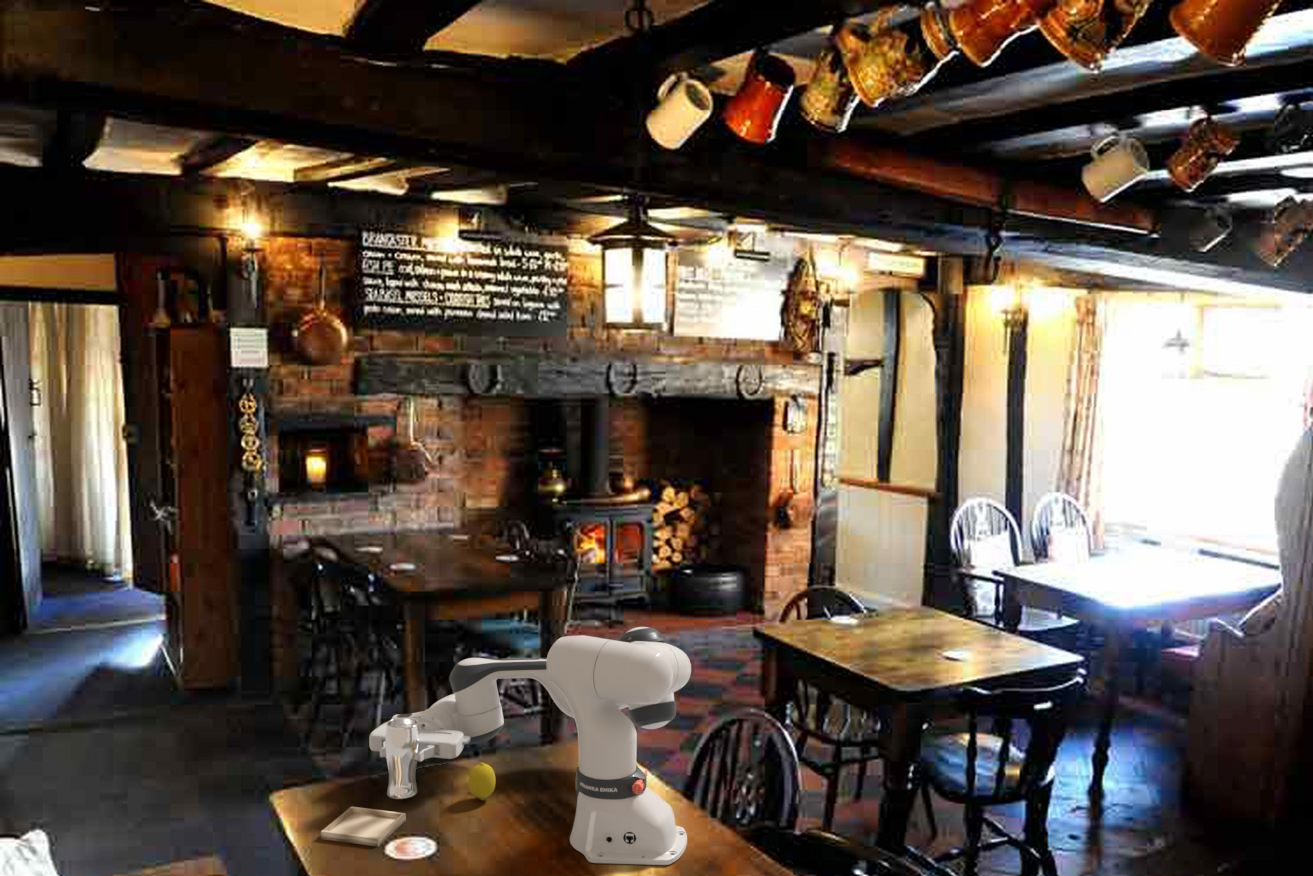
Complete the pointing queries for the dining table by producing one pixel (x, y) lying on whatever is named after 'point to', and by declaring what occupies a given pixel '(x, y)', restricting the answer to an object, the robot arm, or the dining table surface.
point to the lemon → (482, 781)
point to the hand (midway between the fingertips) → (400, 756)
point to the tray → (363, 826)
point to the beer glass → (402, 756)
